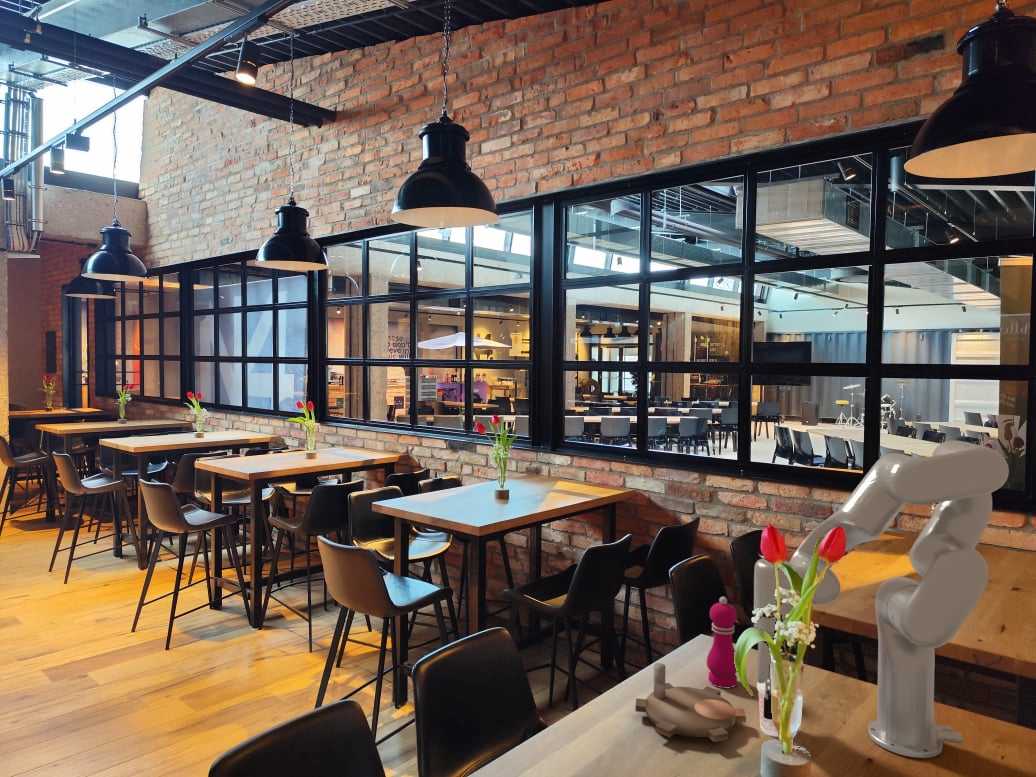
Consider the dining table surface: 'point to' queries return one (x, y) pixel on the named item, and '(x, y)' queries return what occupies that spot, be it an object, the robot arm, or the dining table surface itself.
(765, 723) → the beverage cup
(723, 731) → the sprocket
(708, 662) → the pepper mill
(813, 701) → the dining table surface
